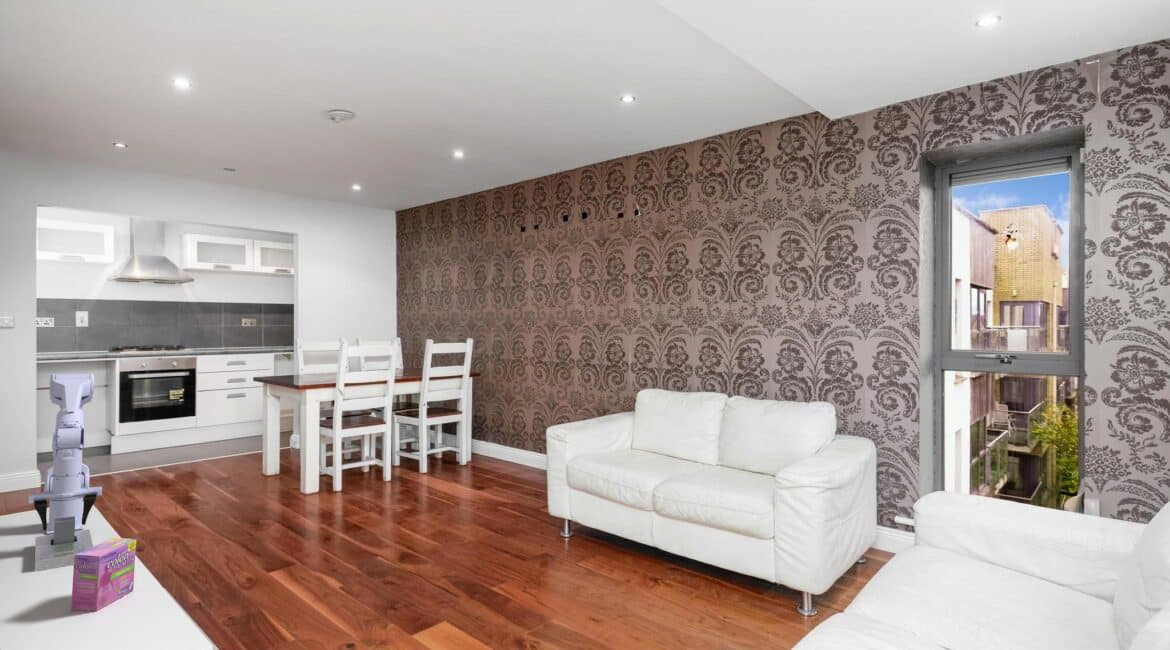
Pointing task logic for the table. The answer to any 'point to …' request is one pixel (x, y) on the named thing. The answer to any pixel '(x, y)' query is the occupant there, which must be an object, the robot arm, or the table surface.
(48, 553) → the plate
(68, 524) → the grey rectangular block
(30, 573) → the table surface
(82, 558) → the box
